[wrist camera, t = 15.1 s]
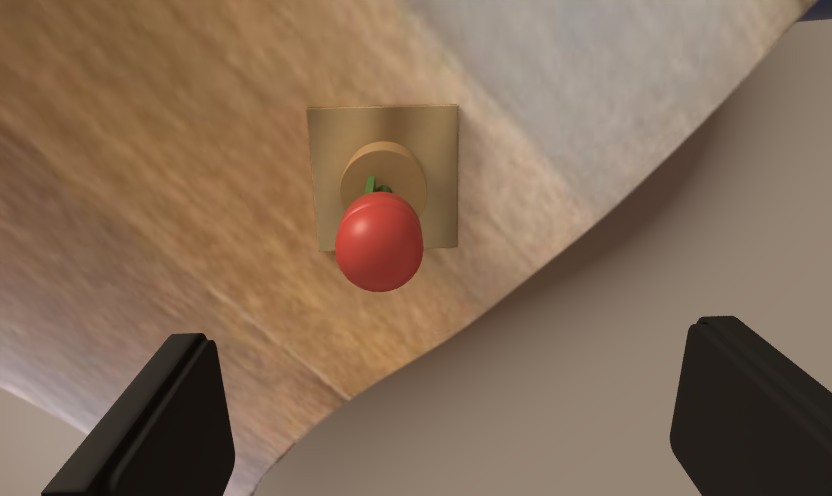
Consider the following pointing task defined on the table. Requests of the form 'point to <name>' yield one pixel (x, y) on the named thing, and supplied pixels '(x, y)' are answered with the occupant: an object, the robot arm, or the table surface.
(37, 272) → the table surface
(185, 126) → the table surface
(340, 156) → the coaster
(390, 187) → the tulip
